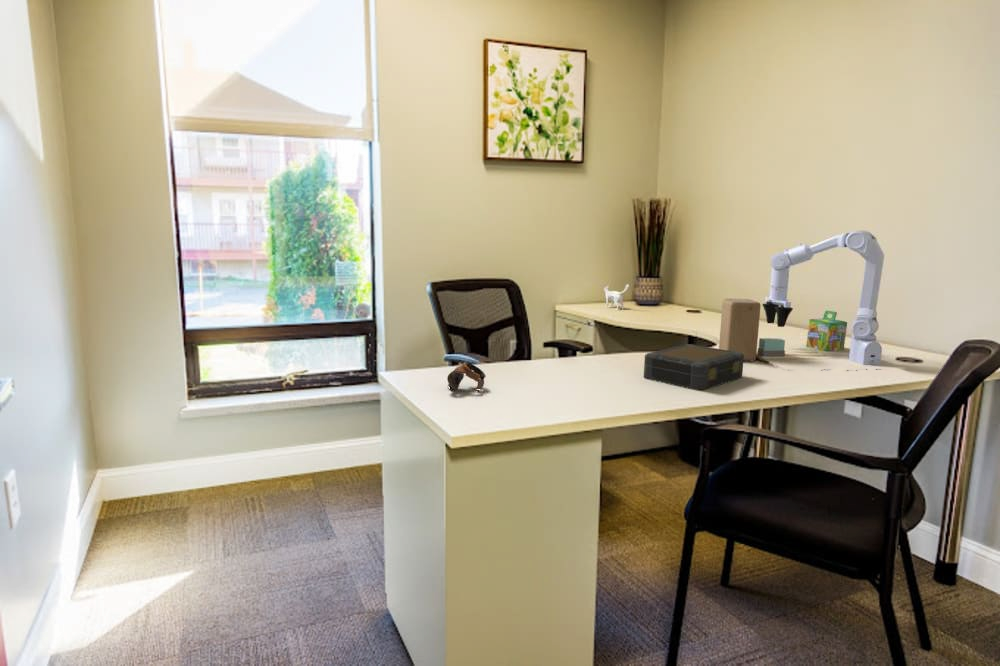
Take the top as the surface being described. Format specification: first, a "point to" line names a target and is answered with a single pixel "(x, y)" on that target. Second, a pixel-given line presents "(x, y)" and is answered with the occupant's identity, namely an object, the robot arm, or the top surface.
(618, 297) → the cat figurine
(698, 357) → the cash box
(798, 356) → the board
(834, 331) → the chalk box
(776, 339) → the sanding block
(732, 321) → the wooden block
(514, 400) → the top surface
